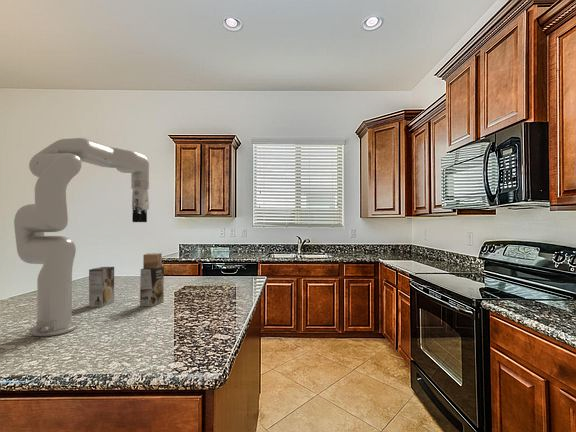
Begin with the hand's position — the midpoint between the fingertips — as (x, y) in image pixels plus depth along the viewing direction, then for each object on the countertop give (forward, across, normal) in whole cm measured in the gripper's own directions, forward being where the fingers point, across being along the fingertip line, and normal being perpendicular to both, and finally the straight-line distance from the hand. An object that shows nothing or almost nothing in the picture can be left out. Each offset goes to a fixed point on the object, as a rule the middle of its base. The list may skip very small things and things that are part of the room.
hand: (139, 222), depth 156 cm
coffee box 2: (+36, -8, -8) cm, 38 cm away
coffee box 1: (+36, -6, +14) cm, 40 cm away
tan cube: (+20, -8, -8) cm, 23 cm away
